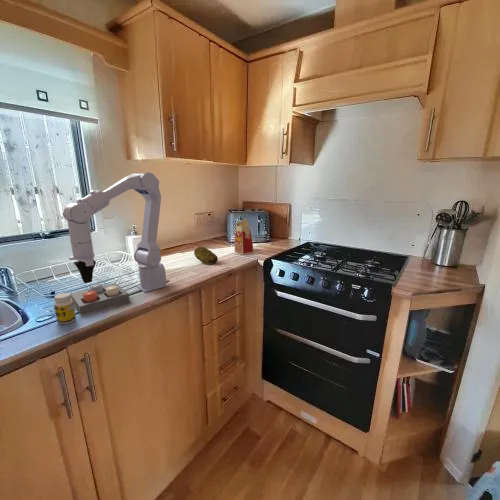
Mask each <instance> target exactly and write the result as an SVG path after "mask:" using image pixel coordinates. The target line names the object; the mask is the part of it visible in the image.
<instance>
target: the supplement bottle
mask: <svg viewBox="0 0 500 500" xmlns="http://www.w3.org/2000/svg"><path fill="white" fill-rule="evenodd" d="M53 307H54V310H55V317H56V322H57V323H58V324H59V325H67V324H70V323H71V324H72V323H73V322H74V321H75V320H76V319H77V318H76V310H75V305H74V304H73V300H72V299H71V294H70V292H61V293H59V294H56V295H54V304H53Z"/></svg>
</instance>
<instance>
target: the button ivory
mask: <svg viewBox="0 0 500 500" xmlns="http://www.w3.org/2000/svg"><path fill="white" fill-rule="evenodd" d="M106 295H107V297H111V296H115V295H119V288H118V286H110V287H107V288H106Z"/></svg>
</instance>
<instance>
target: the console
mask: <svg viewBox="0 0 500 500" xmlns="http://www.w3.org/2000/svg"><path fill="white" fill-rule="evenodd" d="M110 286H118V288H119V295H115V296H111V297H107V295H106V288H107V287H110ZM89 291H90V288H87V289H84V290H83V289H82V290H80V291H75V292H71V293H70V292H69V293H70V295H71V299H72V300H73V304H74V308H75V309H76V310H77V312H78V313H79V314H80V316H83V315H87V314H90V313H94V312H97V311H98V312H99V311H101V310H104V309H108V308H112V307H115V306H119V305H123V304H126V303H128V302H130V294H129V292H127V291H126V290H125V289H124V288H122V286H120V285H119V284H117V283H116V282H114V283H109V284H106V285H105V284H104V285H103V291H104V292H101V293H97V299H98V300H96V301H92V302H88V303H84V300H83V294H84V293H86V292H89Z"/></svg>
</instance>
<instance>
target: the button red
mask: <svg viewBox="0 0 500 500" xmlns="http://www.w3.org/2000/svg"><path fill="white" fill-rule="evenodd" d="M83 300H84V303H88V302H92V301H96V300H98V299H97V292H96V291H89V292H86V293H84V294H83Z"/></svg>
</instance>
